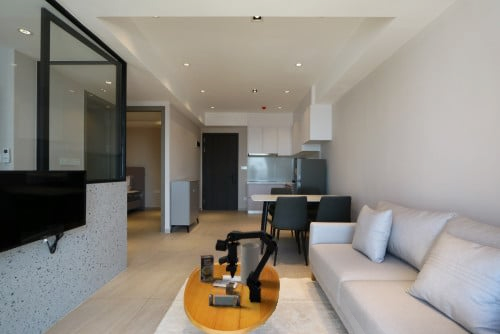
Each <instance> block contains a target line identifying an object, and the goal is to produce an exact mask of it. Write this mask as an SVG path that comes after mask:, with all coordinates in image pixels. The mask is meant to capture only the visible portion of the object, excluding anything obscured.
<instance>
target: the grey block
mask: <svg viewBox="0 0 500 334" xmlns="http://www.w3.org/2000/svg"><path fill="white" fill-rule="evenodd" d="M236 296H237V294H233V295H225V294H224V295H221V294H220V295H219V294H218V295H217V294H216V295H213V304H220V305H233V299H236Z"/></svg>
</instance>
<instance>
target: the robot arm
mask: <svg viewBox="0 0 500 334" xmlns="http://www.w3.org/2000/svg"><path fill="white" fill-rule="evenodd" d="M250 239H251V240H253V239H260V240H261V241H262V242H263V243H264V244H265V246H266V247H265V251H264V253H263V256H261V259H259V264H258V266H257V268H256V269H255V271H254V272H253V271H251V273H250V274H249V276H248V278H247V279H246V280H247V281H246V284H247V285H246V286H247V287H248V290H249V292H248V298H249V299H248V300H249V303H262V289H261V288H262V286H263V283H262V282H261V280H260V277H261V274H262V272H263V270H264V268H265V266H266V265H267V263H268V261H269V259H270V258H271V256H272V255H273V254H274V253H275V251H276V250H277V249H278V247H279V245H280V240H279V239H278V238H276V237H274V236H273V235H271V234H270V233H268V232H266V230H263V229H261V230H254V231H253V230H252V231H250V230H249V231H241V230H232V231H230V232H228V233H227V235H226V238H225V239H219V238H218V239H216V243H215V247H214V249H215V251H216V252H217V251H218V252H227V255H224V256H222V257H221V256H220V257H219V258H218V260H217V262H218V264H219V266H222V265H224V264H226V266H225V272H229V273H230V278H231V279H234V277H235V275H236V273H237V272H238V271H237V270H238V263H239V259H240V258H239V257H238V255H239V253H238V247H240V246H241V242H239V241H240V240H250Z"/></svg>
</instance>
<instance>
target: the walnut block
mask: <svg viewBox="0 0 500 334" xmlns="http://www.w3.org/2000/svg"><path fill="white" fill-rule="evenodd" d="M225 285H226V286H225V295H234V291H235V289H234V285H235V284H234V283H225Z"/></svg>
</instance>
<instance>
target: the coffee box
mask: <svg viewBox="0 0 500 334" xmlns="http://www.w3.org/2000/svg"><path fill="white" fill-rule="evenodd" d="M214 267H215V258H214V255H213V254H208V255H199V281H200V282H201V283H203V282H213V281H214V280H215V279H214V276H215V275H214V270H215V268H214Z"/></svg>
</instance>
